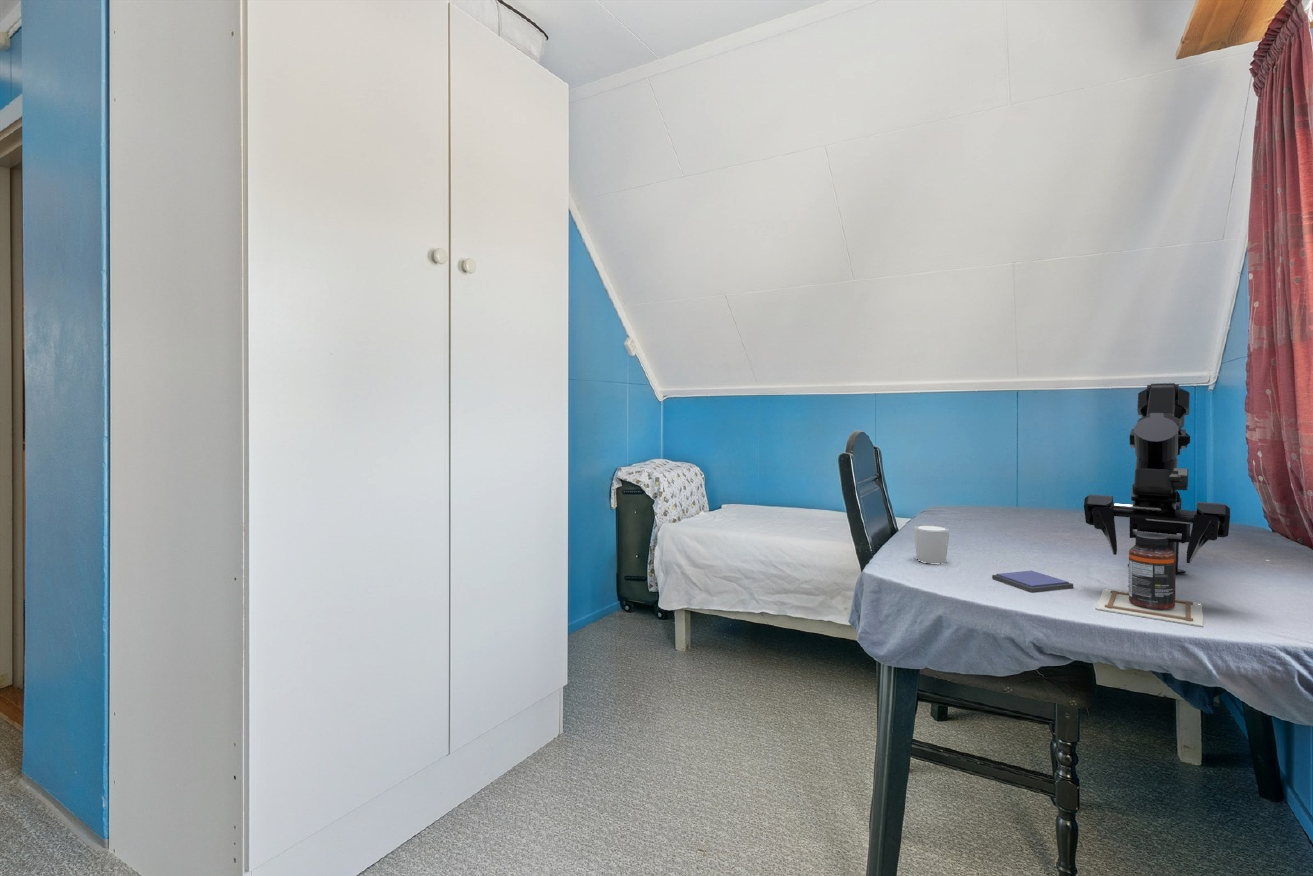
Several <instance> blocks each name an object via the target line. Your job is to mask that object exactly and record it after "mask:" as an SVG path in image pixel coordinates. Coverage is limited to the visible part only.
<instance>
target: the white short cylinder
mask: <svg viewBox="0 0 1313 876" xmlns="http://www.w3.org/2000/svg"><path fill="white" fill-rule="evenodd" d="M913 531H914V532H913V533H914V543H915V554H916V560H917V559H918V560H920V561H923V562H926V563H945V564H946V563H947V557H948V548H949V540H950V531H951V530H950V528H948V527H945V526H940V525H928V524H927V525H916V526H914V527H913Z"/></svg>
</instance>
